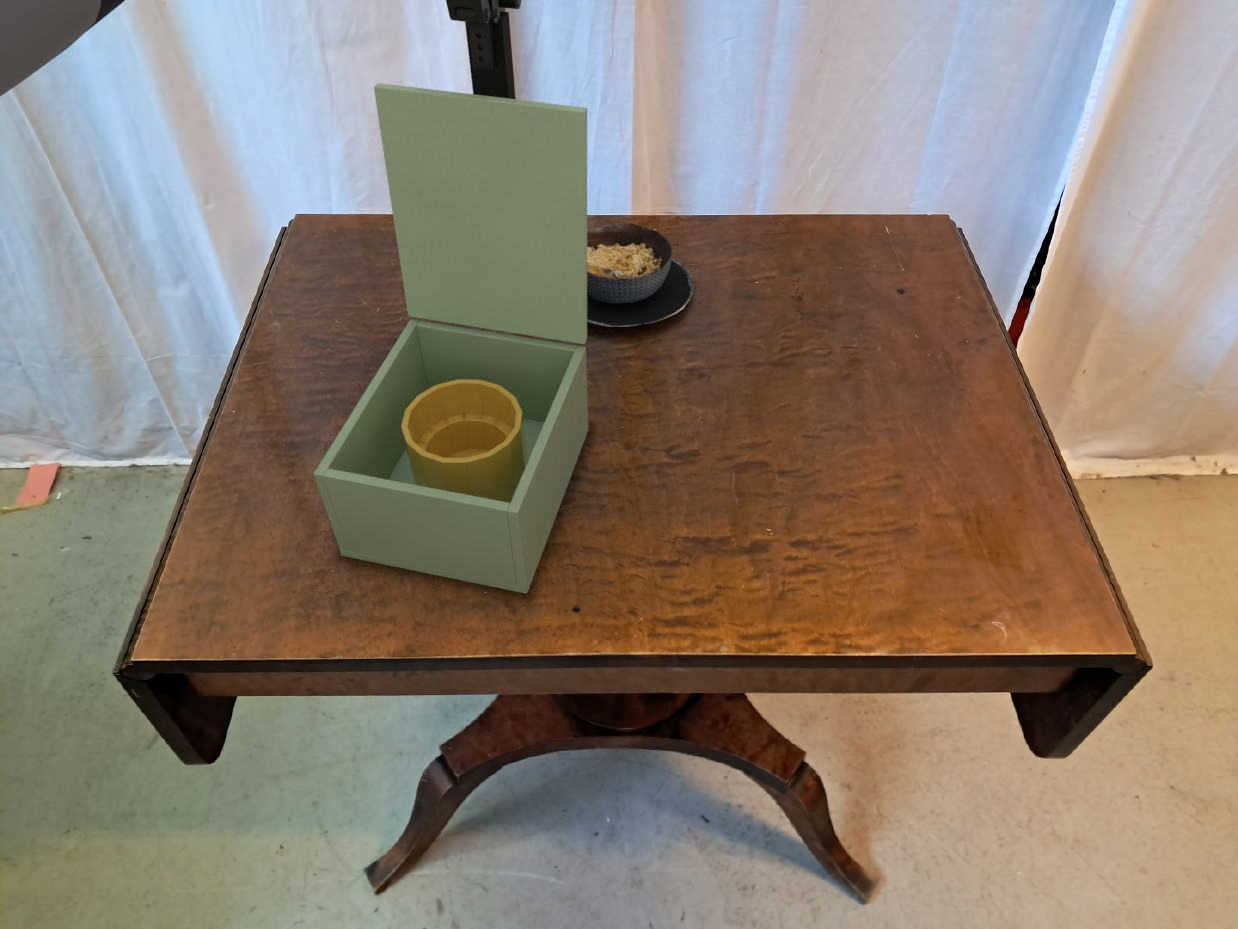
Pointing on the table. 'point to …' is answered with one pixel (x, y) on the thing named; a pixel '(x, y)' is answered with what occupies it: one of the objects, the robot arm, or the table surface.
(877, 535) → the table surface
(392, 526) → the chest
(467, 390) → the bowl
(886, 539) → the table surface
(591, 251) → the soup bowl
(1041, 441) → the table surface
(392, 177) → the chest lid
